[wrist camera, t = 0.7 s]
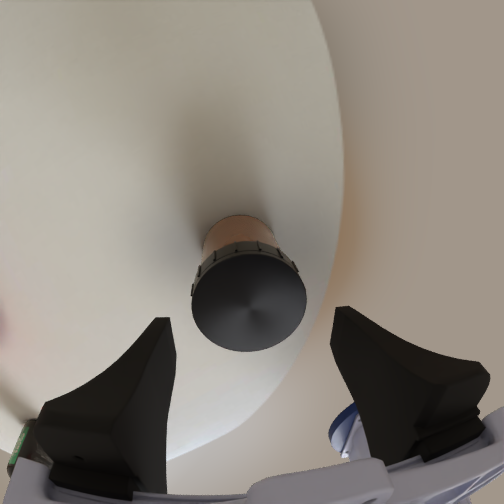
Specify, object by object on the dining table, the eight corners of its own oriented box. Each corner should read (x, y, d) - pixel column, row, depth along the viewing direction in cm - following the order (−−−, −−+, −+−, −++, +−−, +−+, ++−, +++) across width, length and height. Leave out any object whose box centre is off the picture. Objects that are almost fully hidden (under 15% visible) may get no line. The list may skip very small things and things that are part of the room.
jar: (274, 280, 23) (295, 338, 16) (205, 284, 22) (202, 344, 16) (276, 213, 21) (302, 252, 14) (200, 216, 20) (193, 257, 14)
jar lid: (296, 329, 17) (302, 347, 16) (198, 335, 17) (196, 355, 15) (302, 237, 15) (311, 250, 14) (188, 242, 15) (185, 255, 13)
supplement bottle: (18, 413, 27) (-12, 482, 16) (58, 424, 28) (33, 502, 16) (37, 442, 29) (16, 506, 18) (76, 452, 30) (59, 522, 19)
